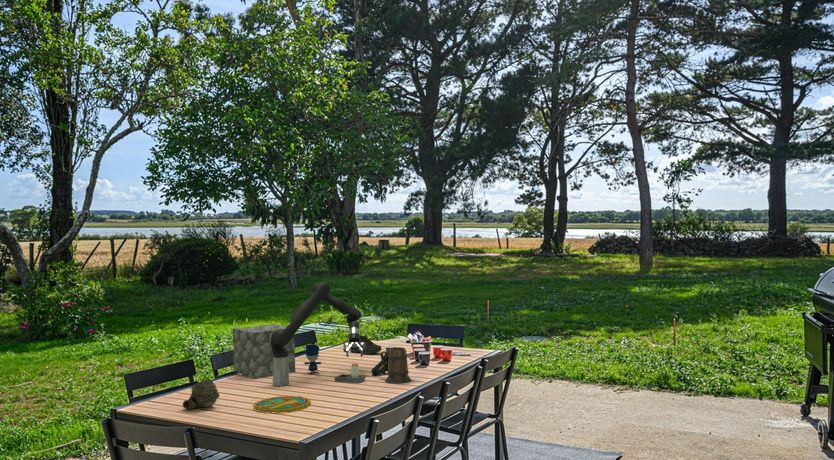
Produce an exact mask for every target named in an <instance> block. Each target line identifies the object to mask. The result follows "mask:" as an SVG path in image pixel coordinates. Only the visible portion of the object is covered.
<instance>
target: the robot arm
mask: <svg viewBox="0 0 834 460" xmlns="http://www.w3.org/2000/svg"><path fill="white" fill-rule="evenodd" d="M311 291H312V294H311V296H309V297H308V298H307V299H306V300H304V301H303V302H301V303H300V304H299V305H298V307H297V308H296V309H295V310H294V311H293V312H292V315H291V317H290V321H289V323H288V325H286V326H287V327H286V328H285V329H284V330H283V331H281V330H276V331H274V332H273V333H272V336H271V348H272V353H273V376H272V386H276V387H284V386H288V385H289V384H290V373H289V360H288V351H287V350H286V349H285V345H287V344H288V343H289V342H290V341H291V339H292V338H293V336H294V337H295V334H296V333H297V332H298V330H299V329H300V328H301V327H302V325H303V324H304V323H305V321H307V319H308V318H309V317H310V316H311V314H312V313H313V312H314V311H315V309H316V308H317V307H318V306H319V304H320V303H321V302H323V301H324V302H326V303H327V304H328V305H330V306H332V307H333V308H335V310H337V311H338V312H339V313H340V314H342V315H346V316H345V320H346V321H347V325H348V334H347V335H348V342H343V352H344V353H345V354H346V355H345V356H346V358H349V352H351V351H350V350H351V349H352V350H353V349H358V350H360V351H361V352H360V358H361V357H363V356H364V354H363V351H366V347H365V342H363V343H361V342H360V336H361V332H360V323H359V320H360V319H361V318H362V315H363V314H362V312H361V310H360V309H358V308H356V307H354V306H351V305H349V304H348V303H346V302H345V301H344V300H343V299H341V298H339V297H337V296H335V295H333V294H331V293H330V292H331V286H330V284H329V283H328V282H324V281H323V282H316V283H314V284H313V286H312V287H311ZM361 345H362V346H363V349H362V348H361ZM346 347H347V348H346Z"/></svg>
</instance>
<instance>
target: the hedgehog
mask: <svg viewBox="0 0 834 460" xmlns="http://www.w3.org/2000/svg"><path fill="white" fill-rule="evenodd" d="M190 386H191V385H190ZM218 398H220V393H219V390H218V389H217V385H216V384H215V382H214V381H213V380H212V379H210V378H207V379H203V380H201V381H199V382H196V383H195V384H194V385H192V386H191V394H190V397H189V398H188V399H185V400H184V401H183V402H182V407H183V409H185V410H186V409H187V411H189V410H188V409H191V410H193V409H195V408H197V407H200V408H206V407H207V408H209V407H213V405H215V404H216V402H217V399H218ZM208 406H209V407H208Z"/></svg>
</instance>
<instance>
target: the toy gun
mask: <svg viewBox="0 0 834 460" xmlns="http://www.w3.org/2000/svg"><path fill="white" fill-rule="evenodd" d="M387 353H388V354H389V351H387ZM383 356H384V359H385V354H383ZM385 361H386V372H388V358H387V359H385ZM380 368H381V369H382V372H381V371H380V372H381V374H382V373H383V369H384V365H383V361H382V360H380V361H378V363H377V364H376V365H374V367H373V368H372V369H371V376H374V377H376V376H379V375H378V373H377V370H378V369H380Z"/></svg>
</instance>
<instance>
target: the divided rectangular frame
mask: <svg viewBox="0 0 834 460" xmlns="http://www.w3.org/2000/svg"><path fill="white" fill-rule="evenodd" d="M365 381H366V375H359V378H352V374H342V373H341V374H338V375H336V376H334V382H335V383H346V382H347V383H348V384H361V383H364V382H365Z"/></svg>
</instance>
